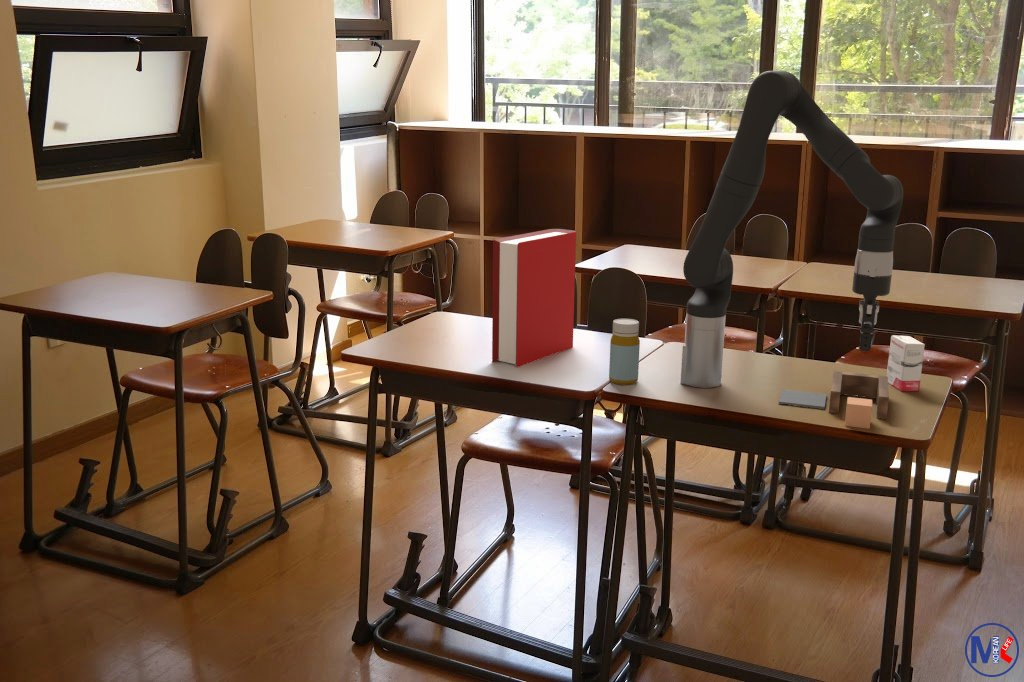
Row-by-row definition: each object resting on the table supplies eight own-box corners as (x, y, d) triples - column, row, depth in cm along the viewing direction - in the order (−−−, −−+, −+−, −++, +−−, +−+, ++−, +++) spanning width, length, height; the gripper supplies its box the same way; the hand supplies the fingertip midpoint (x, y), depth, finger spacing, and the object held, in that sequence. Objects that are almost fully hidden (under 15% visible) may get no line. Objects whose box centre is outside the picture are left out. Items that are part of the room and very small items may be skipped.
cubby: (828, 412, 214) (830, 391, 213) (831, 391, 229) (833, 371, 228) (886, 419, 210) (888, 397, 209) (885, 397, 226) (887, 376, 224)
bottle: (613, 375, 239) (616, 317, 236) (641, 379, 237) (644, 319, 233) (605, 383, 233) (607, 323, 229) (633, 387, 231) (636, 326, 227)
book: (516, 367, 246) (518, 242, 238) (492, 362, 250) (493, 239, 242) (575, 346, 267) (579, 231, 259) (551, 341, 272) (554, 228, 264)
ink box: (920, 391, 230) (926, 343, 227) (900, 391, 230) (905, 343, 227) (904, 381, 239) (909, 334, 236) (884, 381, 238) (890, 334, 235)
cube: (844, 426, 206) (847, 403, 204) (845, 418, 210) (847, 396, 209) (869, 428, 204) (872, 406, 203) (869, 421, 209) (872, 399, 207)
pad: (778, 404, 219) (778, 401, 219) (782, 391, 228) (782, 389, 228) (824, 409, 216) (824, 406, 216) (826, 396, 225) (826, 394, 225)
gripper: (854, 264, 211) (847, 336, 215) (853, 275, 198) (845, 352, 202) (891, 267, 209) (883, 340, 213) (892, 278, 196) (883, 356, 200)
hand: (864, 345), depth 208 cm, fingers open, 8 cm apart
